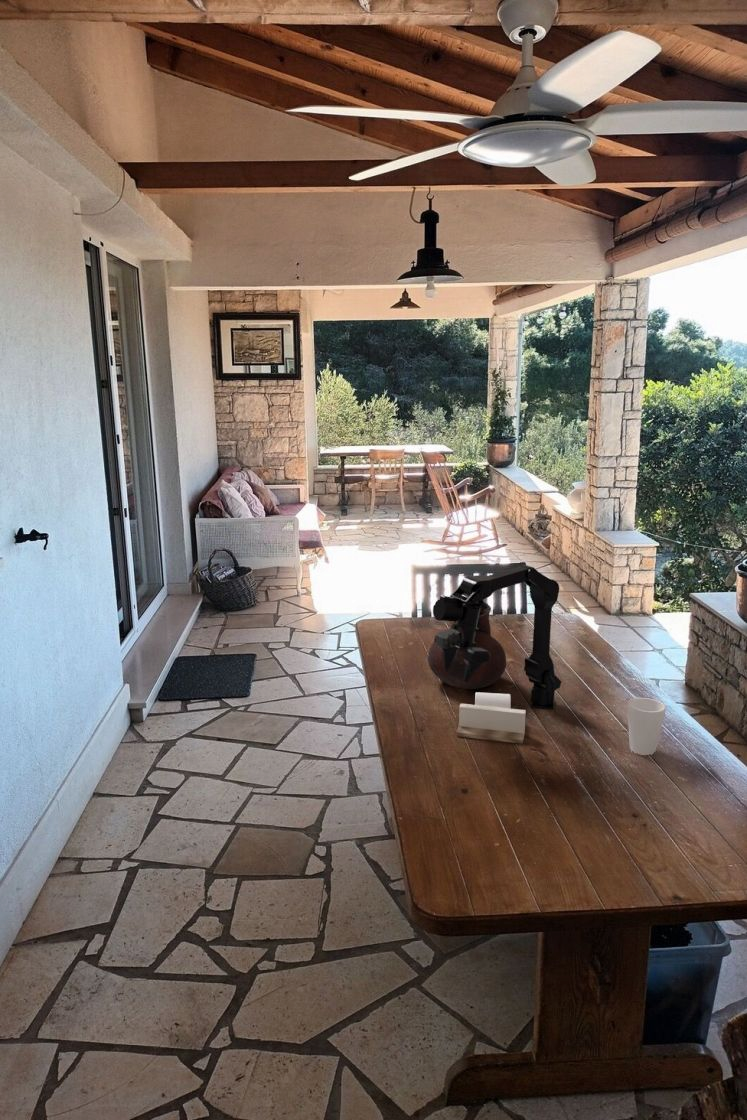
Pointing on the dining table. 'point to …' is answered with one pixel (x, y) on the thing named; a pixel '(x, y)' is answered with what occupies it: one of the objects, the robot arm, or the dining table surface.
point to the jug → (455, 674)
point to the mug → (493, 700)
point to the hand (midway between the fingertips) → (455, 676)
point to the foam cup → (644, 724)
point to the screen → (491, 723)
